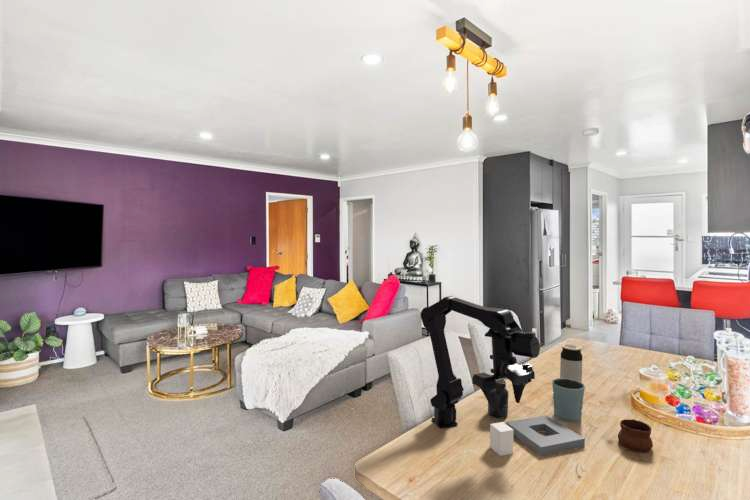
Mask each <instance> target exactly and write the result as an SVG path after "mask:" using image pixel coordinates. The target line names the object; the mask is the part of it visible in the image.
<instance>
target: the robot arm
mask: <svg viewBox="0 0 750 500" xmlns="http://www.w3.org/2000/svg"><path fill="white" fill-rule="evenodd" d="M452 311H453V312H456V313H458V314H461V315H464V316H466V317H469V318H472V319H475V320H478V321H479V322H480V323H482V324H483V326H485V327H486V328H489V329H488V330H487V332H485V333H484V337H487V338H491V352H492V353H491V354H489V359H490V360H492V367H493V368H490V373H491V374H488V373H486V372H479V373H475V374H473V375H472V385H474V386H476V387H478V388H480V390H481V392H482V394H484V397H485V399H486V402H487V404H488V403H489V405H490V407H491V408H492V409H494V408H495V399H494V392H495V390H496V389H497V388H496V387H494V386H495V385H496V381H501V380H504V381H506V380H508V381H510V382H511V386H512V391H513V396H514V400H515V403H516V404H520V402H521V399H522V395H523V393H524V389H525V387H526V385H528V384H529V383H531V382H532V381H533V380H534V379H535V378H536V376H535V371H534V368H533V366H532V365H531V364H530V363H525V364H518V361H517V356H521V357H528V358H534V359H536V358H538V356H539V354H540V352H541V351H540V350H541V343H540V341H539V339H538V337H537V336H536V332H532V331H529V332H525V331H523V329H521V326H520V325H519V324H518V322H517V321H516V320H515V318H514V315H513V314H512V311H510V310H509V309H506V308H498V307H488V306H487V307H486V306H482V305H480V304H476V303H473V302H471V301H467V300H465V299H461V298H458V297H457V296H455V295H450V296H445V297H443V298H442V299H440V300H439V301H437V302H435V303H433V304H432V305H429V306H426V307H423V308H422V310H421V311H420V313H419V314H420V319H421V322H422V325H423V327H424V328H425V329H426V331H427V332H428V334H429V337H430V340H431V341H430V342H431V346H432V351H433V356H434V360H435V366H436V370H437V371H436V372H437V375H438V376H437V377H438V378H437V382H436V386H435V388H436V395H434V396H433V397H432V398H430V400H429V401H430V404H431V407H433V409H434V410H433V415H434V417H432V418H431V421H432V422H434V423H435V424H436V426H437V427H439V428H440V429H443V428H450V427H457V426H458V423H457V422H456V421H457V409H456V404H458V403H459V401H460V399H462V397H463V395H464V393H463V391H465V388H464V387H463V384H462V379H461V377H459V378H458V377H456V375H455V374H454V372H453V366H452V363H451V358H450V357H451V356H450V353H449V349H448V343H447V339H446V335H445V328H446V323H447V317H446V316H447V315H448V314H450V313H451V312H452ZM514 355H515V356H514Z"/></svg>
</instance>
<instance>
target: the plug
mask: <svg viewBox="0 0 750 500" xmlns="http://www.w3.org/2000/svg"><path fill="white" fill-rule="evenodd" d="M489 427H490V428H489V429H490V430H489V448H490V449H492V450H493V452H495V453H496V454H498V455H499V456H500V457H501V456H507V455H510V454H511V455H512V454H514V435H513V433H514V430H513V429H512V428H510V427H509V426H508V425H506V422H504V421H501V422H494V423H490V425H489Z"/></svg>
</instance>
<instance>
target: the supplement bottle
mask: <svg viewBox="0 0 750 500" xmlns="http://www.w3.org/2000/svg"><path fill="white" fill-rule="evenodd" d="M506 383H507V382H506V380H501V381H496V385H495V386H494V387H496V388H497V389H496V390H495V392H494V399H495V408H494V409H492V408H491V407H490V405H489V403H488V402H487V413H488V415H489V416H490V417H493V418H496V419H505V418H507V417H508V414H509V391H508V389H507V384H506Z"/></svg>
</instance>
